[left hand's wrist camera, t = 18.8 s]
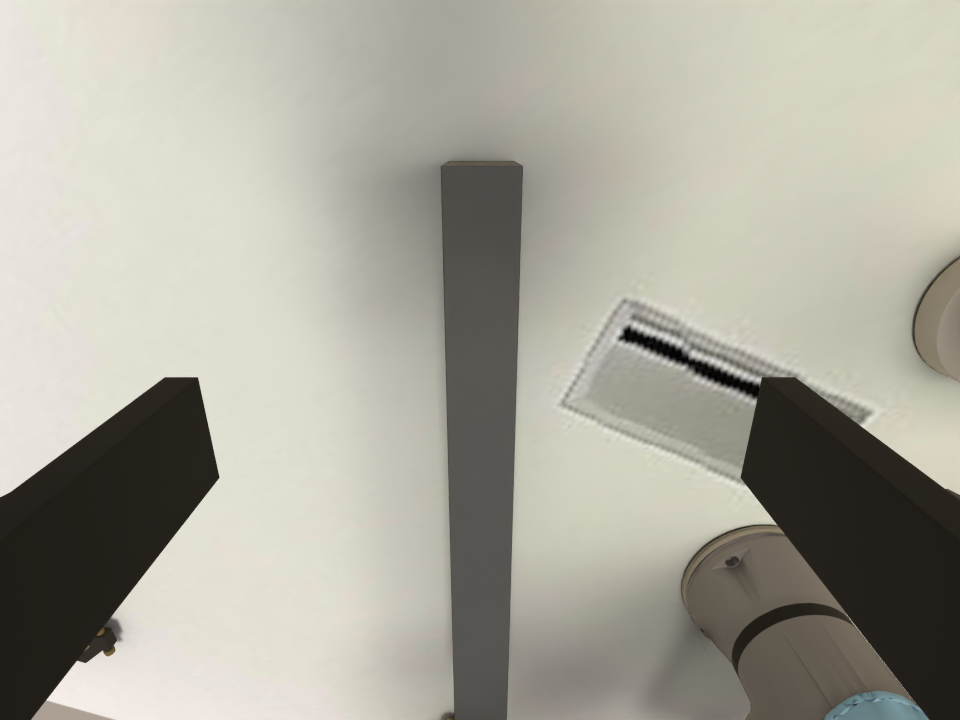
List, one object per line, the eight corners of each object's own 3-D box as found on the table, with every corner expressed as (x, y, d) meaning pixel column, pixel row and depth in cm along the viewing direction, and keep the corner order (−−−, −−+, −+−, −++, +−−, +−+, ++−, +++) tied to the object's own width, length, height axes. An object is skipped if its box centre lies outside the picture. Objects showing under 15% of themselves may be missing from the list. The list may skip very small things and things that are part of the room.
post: (448, 161, 43) (440, 165, 35) (515, 161, 43) (522, 165, 35) (458, 654, 64) (454, 728, 56) (503, 654, 64) (506, 728, 56)
